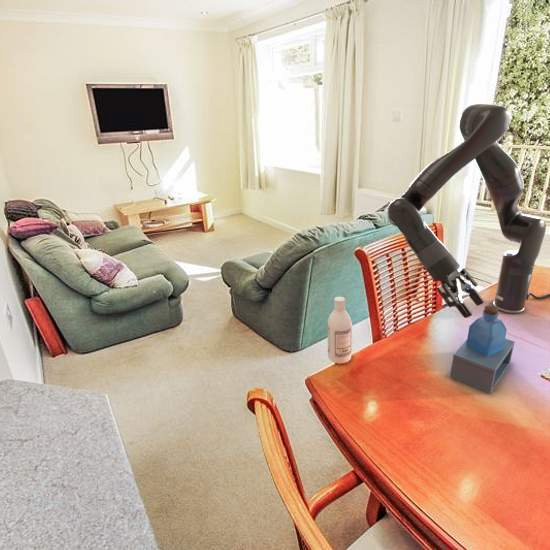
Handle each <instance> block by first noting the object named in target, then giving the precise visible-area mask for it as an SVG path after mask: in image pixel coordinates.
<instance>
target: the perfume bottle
mask: <svg viewBox="0 0 550 550" xmlns="http://www.w3.org/2000/svg"><path fill="white" fill-rule="evenodd" d="M499 311H500V310H499V309H498V308H497V307H495V306H494V305H490V304H489V305H485V306H484V310H483V311H482V315H481V316H480V317H478V318H476V320H474V321H473V322H472V323H471V324H470V325H469V326H468V333H467V339H466V340H467V344H466V346H468V347H470V348H472V349H473V350H475V351H477V352H479V353H481V354H483V355H484V356H486V357H489V356H491V355H493V354H495V353H497V352H498V351H500V350H502V349H503V345H504V341H505V339H506V335H507V331H508V328H507V327H506V325H505V323H504V322H503V320H501V319H500V318H499Z"/></svg>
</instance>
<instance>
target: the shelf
mask: <svg viewBox="0 0 550 550" xmlns="http://www.w3.org/2000/svg"><path fill="white" fill-rule="evenodd" d="M515 343H516V342H515V341H514V340H511V339H508V338H505V341H504V345H503V349H502V350H500V351H498V352H497V353H495V354H493V355H491V356H489V357H486V356H484V355H483V354H481V353H479V352H477V351H475V350H473V349H472V348H470V347H468V346H466V344H467V339H465V341H464V342H463V343H462V344H461V345H460V346H459V348H458V349H457V350H456V351H455V352H454V353H453V355H452V362H451V369H450V375H449V378H450V379H453V380H455V381H457V382H461V383H463V384H464V385H467V386H470V387H472V388H474V389H477V390H479V391H481V392H483V393H487V394H489V395H490V394H491V393H492V392H493V390H494V389H495V388H496V386H497V384H498V382H500V380H501V378H502V376H503V375H504V374H505V372H506V371H507V369H508V367H509V366H510V364H511V360H512V355H513V351H514V348H515Z"/></svg>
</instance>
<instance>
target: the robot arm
mask: <svg viewBox="0 0 550 550" xmlns="http://www.w3.org/2000/svg"><path fill="white" fill-rule="evenodd" d="M511 121H512V114H511V112H510V110H509V109H508V108H507V107H506V106H504V105H499V104H489V103H488V104H487V103H475V104H470V105H469V106H468V107H465V109H464V110H463V111H462V113H461V115H460V117H459V120H458V122H459V123H458V128H459V133H460V134H461V137H462V139H463V141H462V142H461V143H459V144H458V145H457V146H456V147H455V148H453V149H451V150H450V151H448V152H446V153H445V154H442V155H441V156H439V157H438V158H437V159H435V160H433V161H432V162H430V163H429V164H427V166H425V167H424V169H423V170H422V171H420V173H419V174H418V175H417V176H416V177H415V178H414V180H413V181H412V182H410V184H409V186H408V188H407V190H406V191H405V192H404V193H403V194H402V195H401V196H400V197H397V198H395V199H394V200H392V201H391V202H390V203H389V205H388V207H387V213H386V215H387V220H388V222H389V223H390V224H391V225H392V226H394V227H397V229H398V230H399V231H400V233H401V234H402V235H403V237H404V240H405V242H406V243H407V245H408V246H409V248H410V249H411V250H412V252H413V253H414V255H415V256H416V257H417V259H418V261H419V263H420V264H421V265H422V267H423V268H424V269H425V271H426V272H427V273H428V274H429V276H430V278H432V280H433V281H434V282H440V284H441V285H439V286H437V287H436V292H438V293H439V295H440V296H441V298H442V299H443V301H444V302H445V304H446V305H447V306H448V307H449V308H452V307H454V308H456V309H457V310H458V312H459V313H460V315H461V316H462V317H463V318H464V319H468V318H470V317H471V316H472V315H473V312H472V310H471V309H470V308H469V307H468V305H467V304H466V302H464V300H463V297H462V295H463V292H464V293H466V294H468V297H469V298H470V300H472V302H473V303H474V304H475V305H476V306H477V307H478V306H480V305H483V304H484V303H485V300H484V298H483V297H482V296H481V295H480V293H479V292H478V291H477V286H478V283H477V281H475V279H474V278H473V277H472V275H471V274H470V273H469V272H468V270H466V268H463V267H462V269H459V268H460V266H461V265H460V263H459V262H458V261H457V259H456V258H455V257H454V256H453V255H452V253H451V252H450V251H449V250H448V248H447V246H446V245H444V244H443V242H442V241H441V240H439V238H438V237H437V236H436V235H435V233H434V231H432V230H431V228H430V227H429V225H427V223H426V222H425V220H424V218H423V216H422V214H421V213H420V211H421V210H423V208H424V207H425V205H426V204H427V203H428V202H429V201H430V200H431V199H433V198H434V197H435V196H436V195H437V194H438V193H439V192H440V190H442V188H443V187H444V186H445V185H446V184H447V183H448V182H449V181H450V180H451V179H453V177H455V176H456V175H457V174H458V173H459V172H460V171H461V170H462V169H464V168H465V167H466V166H467V165H469V164H470V163H472V161H473V160H474V161H475V163H476V165H477V168H478V170H479V172H480V174H481V177H482V179H483V182H484V185H485V187H486V190H487V192H488V195H489V196H490V199H491V202H492V203H493V206H494V209H495V212H496V215H497V218H498V223H499V227H500V231H501V234H502V236H503V237H504V238H505V239H506V240H508V241H510V242H513V243H516V244H519V248H518V249H513V250H507V251H505V252H503V255H502V259H501V263H500V264H501V265H500V269H499V270H500V271H499V275H498V280H497V286H496V292H495V295H494V300H493V304H492V306H495V307H497V308H498V309H499V310H498V311H501V312H503V313H506V314H507V313H508V314H520V313H523V312H524V311H525V306H526V301H528V300H529V299H530V296H531V297H532V298H533V299H536V300H543V299H546V298H549V297H550V293H548V294H546V295H543V296H537V295H535V294H534V293H532V292H530V291H529V290H530V285H531V280H532V276H533V272H534V267H535V263H536V260H537V258H538V257H539V255H540V251H541V248H542V244H543V241H544V239H545V234H546V230H547V225H546V221H545V220H544V219H543V218H540V217H536V216H532V215H527V214H523V213H522V212H521V211H520V209H519V207H518V203H517V202H518V201H519V199H520V197H521V195H522V193H523V191H524V188H525V187H524V186H525V184H524V179H523V176H522V172H521V170H520V167H519V165H518V164H517V162H516V161H515V159H513V158H512V157H511V155H510V154H509V153H508V152H507V151H505V150H504V149H503V148H502V147H501V146H500V144H499V143H498V141H499V140H500V139H501V138H502V137H503V136H504V135H505V134H506V132H508V129H509V127H510V125H511ZM458 269H459V270H458Z"/></svg>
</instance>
